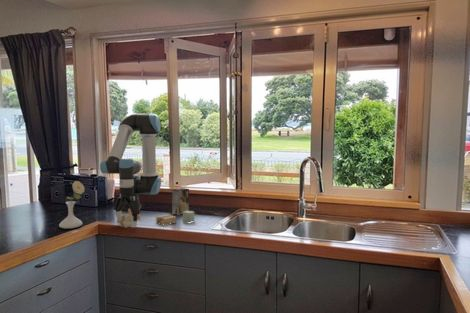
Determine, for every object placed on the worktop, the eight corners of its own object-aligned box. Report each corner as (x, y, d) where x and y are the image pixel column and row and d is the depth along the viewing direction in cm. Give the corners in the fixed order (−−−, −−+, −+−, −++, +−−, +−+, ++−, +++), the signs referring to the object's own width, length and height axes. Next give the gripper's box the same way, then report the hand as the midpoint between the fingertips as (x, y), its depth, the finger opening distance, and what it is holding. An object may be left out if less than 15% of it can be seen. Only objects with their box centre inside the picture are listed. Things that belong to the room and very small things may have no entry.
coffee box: (182, 211, 215) (182, 187, 214) (189, 213, 211) (189, 188, 210) (171, 214, 208) (171, 189, 207) (178, 215, 204) (178, 190, 203)
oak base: (156, 223, 186) (156, 216, 186) (167, 220, 192) (167, 214, 192) (164, 226, 181) (164, 219, 181) (176, 223, 187) (176, 216, 187)
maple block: (120, 226, 179) (120, 215, 178) (127, 224, 183) (127, 213, 182) (125, 227, 176) (125, 216, 175) (133, 225, 180) (133, 215, 180)
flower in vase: (65, 231, 167) (64, 183, 165) (55, 227, 173) (54, 181, 172) (89, 226, 177) (89, 181, 175) (79, 222, 184) (78, 179, 182)
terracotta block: (128, 218, 195) (128, 208, 195) (135, 217, 198) (135, 207, 198) (131, 220, 191) (131, 210, 191) (139, 218, 195) (139, 209, 194)
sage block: (182, 222, 189) (182, 212, 188) (186, 220, 193) (186, 210, 193) (190, 223, 187) (190, 213, 186) (194, 221, 191) (194, 211, 191)
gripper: (107, 185, 182) (107, 222, 183) (134, 189, 168) (134, 230, 169) (119, 183, 188) (119, 219, 189) (146, 188, 174) (146, 227, 175)
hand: (126, 224), depth 179 cm, fingers open, 13 cm apart
